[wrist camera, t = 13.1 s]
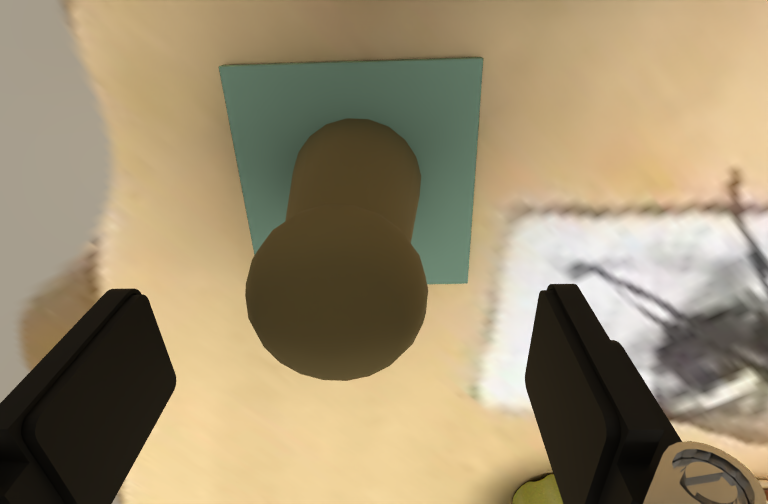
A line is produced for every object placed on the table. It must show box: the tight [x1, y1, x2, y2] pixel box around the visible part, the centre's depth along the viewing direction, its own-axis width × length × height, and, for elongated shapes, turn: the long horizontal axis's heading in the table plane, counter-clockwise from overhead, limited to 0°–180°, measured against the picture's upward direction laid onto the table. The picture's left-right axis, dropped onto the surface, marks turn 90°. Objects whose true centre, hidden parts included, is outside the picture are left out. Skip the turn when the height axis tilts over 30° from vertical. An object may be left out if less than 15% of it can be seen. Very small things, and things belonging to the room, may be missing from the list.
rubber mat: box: [219, 57, 483, 284], centre depth 22 cm, size 11×11×1 cm
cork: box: [245, 118, 428, 381], centre depth 17 cm, size 6×6×11 cm
